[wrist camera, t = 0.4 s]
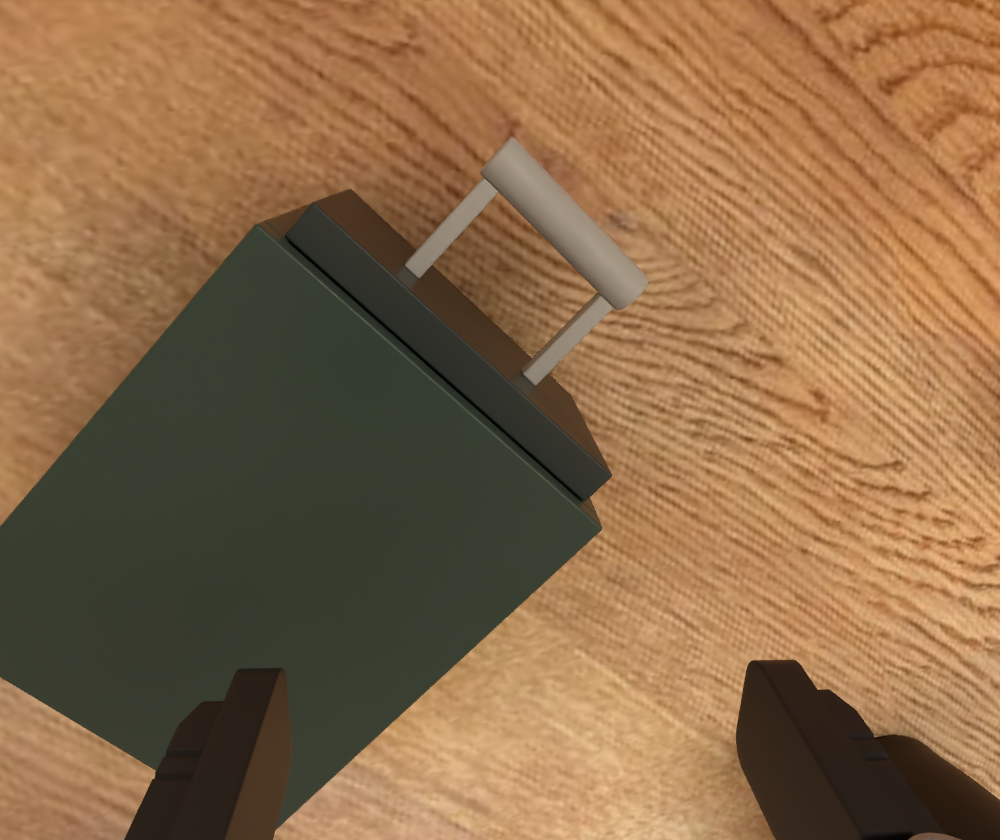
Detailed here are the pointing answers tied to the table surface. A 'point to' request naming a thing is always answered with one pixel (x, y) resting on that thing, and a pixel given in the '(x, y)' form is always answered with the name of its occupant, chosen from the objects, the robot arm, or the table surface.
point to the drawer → (460, 324)
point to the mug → (946, 790)
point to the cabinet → (273, 525)
